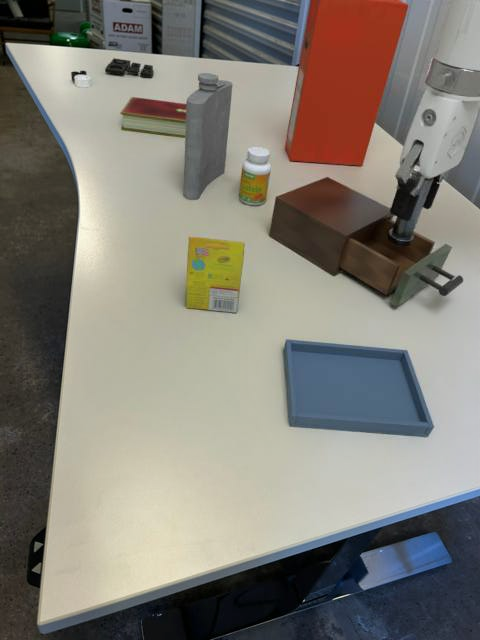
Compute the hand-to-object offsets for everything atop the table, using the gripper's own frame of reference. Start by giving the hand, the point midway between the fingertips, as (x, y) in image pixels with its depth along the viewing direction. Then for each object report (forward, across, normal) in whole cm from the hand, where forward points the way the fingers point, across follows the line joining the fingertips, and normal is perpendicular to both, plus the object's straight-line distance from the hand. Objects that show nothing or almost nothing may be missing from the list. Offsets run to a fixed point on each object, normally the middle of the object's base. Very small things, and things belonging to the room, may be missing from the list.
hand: (410, 209), depth 71 cm
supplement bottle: (+12, 0, +31) cm, 33 cm away
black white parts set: (+11, +18, +106) cm, 108 cm away
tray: (+12, -25, -11) cm, 30 cm away
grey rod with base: (+5, 0, 0) cm, 5 cm away
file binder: (+12, +29, +36) cm, 48 cm away
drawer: (+11, 0, -2) cm, 11 cm away
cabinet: (+12, 0, +12) cm, 17 cm away
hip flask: (+12, -4, +42) cm, 43 cm away
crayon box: (+12, -28, +12) cm, 33 cm away
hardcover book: (+12, +9, +68) cm, 70 cm away
